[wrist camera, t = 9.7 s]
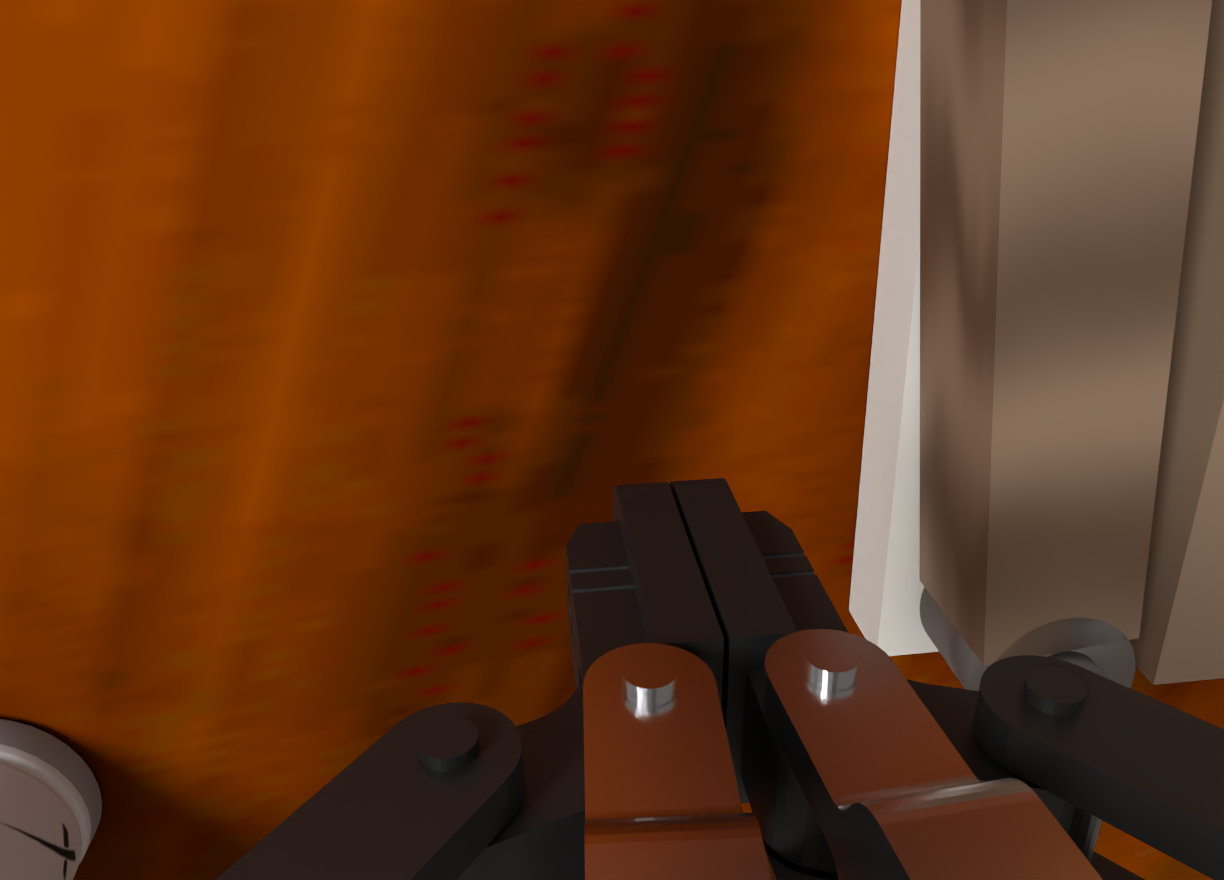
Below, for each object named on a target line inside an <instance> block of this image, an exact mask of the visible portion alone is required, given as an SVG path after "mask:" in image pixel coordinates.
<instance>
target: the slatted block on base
mask: <svg viewBox="0 0 1224 880" xmlns="http://www.w3.org/2000/svg"><path fill="white" fill-rule="evenodd" d="M923 589H924V585H923V584H922V583H921V581H920V0H902V6H901V18H900V29H899V41H898V52H897V64H896V75H895V87H894V98H893V110H892V121H891V132H890V144H889V155H888V167H887V178H886V190H885V201H884V213H883V224H882V236H881V247H880V259H879V270H878V282H877V293H876V304H875V316H874V327H873V339H872V350H871V362H870V373H869V385H868V396H867V408H866V419H865V431H864V442H863V453H862V465H861V476H860V488H859V499H858V511H857V522H856V534H855V545H854V557H853V568H852V580H851V591H850V603H849V611H850V613H851V615H852V616H853V618H854V620H855V622H856V623H857V625H858V627H859V628H860V630H861V632H862V633H863V635H864V637H865V638H866V640H868V641H870V642H872V643H874V644H875V645H877V646H878V647H880V648H881V649H882V650H883V651H884V652H886V653H887V655H888V656H895V655H906V654H917V653H928V652H939V651H938V649H937V648H936V646H935V645H934V643H933V642H932V641H931V639H930V638H929V636H928V635H927V633H926V632H925V630H924V628H923V625H922V623H921V618H920V600H921V595H922V592H923ZM1129 641H1130V643H1131V645H1132V647H1133V651H1134V654H1135V661H1136V666H1135V667H1136V668H1137V669H1138V670H1139V671H1140V672H1141V673H1142V674H1143V675H1144V676H1145V677H1146V678H1147V679H1148V680H1149V681H1150V682H1151V683H1152V684H1153V685H1157V684H1168V683H1178V682H1189V681H1199V680H1210V679H1221V678H1224V0H1212V7H1211V16H1210V24H1209V33H1208V42H1207V50H1206V59H1205V68H1204V77H1203V85H1202V94H1201V103H1200V111H1199V120H1198V129H1197V138H1196V146H1195V155H1194V164H1193V172H1192V181H1191V190H1190V198H1189V207H1188V216H1187V225H1186V233H1185V242H1184V251H1183V259H1182V268H1181V277H1180V286H1179V294H1178V303H1177V312H1176V320H1175V329H1174V338H1173V347H1172V355H1171V364H1170V373H1169V381H1168V390H1167V399H1166V408H1165V416H1164V425H1163V434H1162V442H1161V451H1160V460H1159V469H1158V477H1157V486H1156V495H1155V503H1154V512H1153V521H1152V529H1151V538H1150V547H1149V556H1148V564H1147V573H1146V582H1145V590H1144V599H1143V608H1142V617H1141V625H1140V634H1139V638H1137V639H1131V640H1129Z"/></svg>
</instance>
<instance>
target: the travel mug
mask: <svg viewBox="0 0 1224 880" xmlns="http://www.w3.org/2000/svg"><path fill="white" fill-rule="evenodd" d="M101 812H102V799H101V794H100V788H99V786H98V784H97V781H96V779H95V777H94V775H93V773H92V771H91V770H90V768H89V767H88V766H87V764H86V763H85V762H84V760H83V759H82V758H81V757H80V756H79V755H78V754H77V753H76V752H75V751H74V750H72V749H71V748H70V747H69V746H68V745H67V744H65V743H63V742H62V741H60V740H59V739H57V738H56V737H54V736H52V735H51V734H49V733H46V732H44V731H42V730H39V729H37V728H35V727H33V726H29V725H26V724H22V723H18V722H15V721H11V720H4V719H0V880H73V878H74V876H75V874H76V871H77V868H78V866H79V864H80V863H81V861H82V859H83V857H84V855H85V853H86V851H87V849H88V847H89V845H90V843H91V841H92V839H93V837H94V834H95V832H96V830H97V827H98V825H99V822H100V819H101Z"/></svg>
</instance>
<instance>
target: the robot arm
mask: <svg viewBox="0 0 1224 880" xmlns="http://www.w3.org/2000/svg"><path fill="white" fill-rule="evenodd" d="M566 554H567V578H568V602H569V626H570V643H571V651H572V659H573V666H574V676H575V684H576V691H575V692H574V694H573V695H572V697H571V698H570V699H568V700H567V701H566V702H565V703H564V704H563V705H562V706H560V707H559V708H558V709H556V710H555V711H553V712H551V713H549V714H548V715H546V716H544V717H541V718H539V719H536V720H534V721H531V722H528V723H525V724H522V725H519V726H515V725H514V724H513V722H512V721H511V720H510V719H509V718H508V717H506V716H505V715H504V714H502V713H501V712H499V711H497V710H495V709H493V708H490V707H487V706H484V705H479V704H474V703H447V704H441V705H436V706H433V707H429V708H426V709H423V710H421V711H418V712H416V713H414V714H412V715H410V716H408V717H407V718H405V719H403V720H402V721H401V722H399V723H398V724H397V725H395V726H394V727H393V728H392V729H391V730H389V731H388V732H387V733H386V734H385V735H384V736H382V737H381V738H380V739H379V740H378V741H377V742H375V743H374V744H373V745H372V746H371V747H370V748H368V749H367V750H366V751H365V752H364V753H363V754H361V755H360V756H359V757H358V758H357V759H356V760H354V761H353V762H352V763H351V764H350V765H349V766H347V767H346V768H345V769H344V770H343V771H342V772H340V773H339V774H338V775H337V776H336V777H335V778H333V779H332V780H331V781H330V782H329V783H328V784H326V785H325V786H324V787H323V788H322V789H321V790H319V791H318V792H317V793H316V794H315V795H314V796H312V797H311V798H310V799H309V800H308V801H307V802H305V803H304V804H303V805H302V806H301V807H300V808H298V809H297V810H296V811H295V812H294V813H293V814H291V815H290V816H289V817H288V818H287V819H286V820H284V821H283V822H282V823H281V824H280V825H279V826H277V827H276V828H275V829H274V830H273V831H272V832H270V833H269V834H268V835H267V836H266V837H265V838H263V839H262V840H261V841H260V842H259V843H258V844H256V845H255V846H254V847H253V848H252V849H251V850H249V851H248V852H247V853H246V854H245V855H244V856H242V857H241V858H240V859H239V860H238V861H237V862H236V863H234V864H233V865H232V866H231V867H230V868H229V869H227V870H226V871H225V872H224V873H223V874H222V875H220V876H219V877H218V878H217V879H216V880H1144V879H1142V878H1141V877H1139V876H1137V875H1135V874H1133V873H1132V872H1130V871H1128V870H1126V869H1124V868H1123V867H1121V866H1119V865H1117V864H1115V863H1114V862H1112V861H1110V860H1108V859H1106V858H1105V857H1103V856H1101V855H1099V854H1098V853H1096V852H1094V848H1095V844H1096V840H1097V837H1098V833H1099V829H1100V825H1101V822H1102V820H1103V821H1105V822H1107V823H1109V824H1110V825H1112V826H1114V827H1116V828H1118V829H1120V830H1122V831H1124V832H1125V833H1127V834H1129V835H1131V836H1133V837H1135V838H1137V839H1139V840H1140V841H1142V842H1144V843H1146V844H1148V845H1150V846H1152V847H1154V848H1155V849H1157V850H1159V851H1161V852H1163V853H1165V854H1167V855H1169V856H1170V857H1172V858H1174V859H1176V860H1178V861H1180V862H1182V863H1184V864H1185V865H1187V866H1189V867H1191V868H1193V869H1195V870H1197V871H1199V872H1200V873H1202V874H1204V875H1206V876H1208V877H1210V878H1212V879H1214V880H1224V730H1223V729H1221V728H1219V727H1217V726H1214V725H1212V724H1210V723H1207V722H1205V721H1203V720H1201V719H1198V718H1196V717H1194V716H1192V715H1189V714H1187V713H1185V712H1182V711H1180V710H1178V709H1176V708H1173V707H1171V706H1169V705H1167V704H1164V703H1162V702H1160V701H1157V700H1155V699H1153V698H1151V697H1148V696H1146V695H1144V694H1142V693H1139V692H1137V691H1135V690H1132V689H1130V688H1128V687H1126V686H1123V685H1121V684H1119V683H1117V682H1114V681H1112V680H1110V679H1107V678H1105V677H1103V676H1101V675H1098V674H1096V673H1094V672H1092V671H1089V670H1087V669H1085V668H1082V667H1080V666H1077V665H1075V664H1072V663H1070V662H1066V661H1063V660H1060V659H1056V658H1051V657H1045V656H1036V655H1020V656H1012V657H1008V658H1004V659H1001V660H999V661H997V662H994V663H993V664H992V665H990V666H989V667H988V668H987V669H986V670H985V671H984V673H983V675H982V677H981V681H980V686H979V691H974V690H966V689H959V688H951V687H944V686H937V685H930V684H924V683H919V682H915V681H912V680H908V679H905V677H904V676H903V674H902V673H901V672H900V670H899V669H898V667H897V666H896V665H895V663H894V662H893V661H892V659H891V658H890V657H889V656H888V655H887V653H886V652H884V651H883V650H882V649H881V648H880V647H878V646H877V645H875V644H874V643H872V642H870V641H868V640H866V639H864V638H862V637H860V636H857V635H854V634H851V633H848V631H847V629H846V628H845V626H844V624H843V622H842V620H841V619H840V617H839V615H838V613H837V611H836V609H835V608H834V606H833V604H832V602H831V600H830V599H829V597H828V595H827V593H826V591H825V589H824V588H823V586H822V584H821V582H820V580H819V579H818V577H817V575H814V569H813V568H812V566H811V564H810V562H809V560H808V559H807V557H806V556H804V551H803V549H802V548H801V546H800V544H799V542H798V540H797V539H796V537H795V535H794V533H793V531H792V529H790V528H789V527H787V526H786V525H785V524H783V523H782V522H780V521H779V520H778V519H776V518H775V517H773V516H772V515H771V514H769V513H768V512H766V511H757V512H743V513H741V511H740V509H739V507H738V505H737V503H736V500H735V498H734V496H733V494H732V492H731V490H730V488H729V486H728V483H727V482H726V480H725V479H724V478H719V479H704V480H689V481H674V482H670V485H669V484H668V482H662V483H647V484H632V485H617V486H614V489H613V522H604V523H590V524H579V525H578V527H577V529H576V530H575V532H574V534H573V535H572V537H571V539H570V540H569V542H568V544H567V545H566ZM748 802H749V803H750V806H751V809H752V812H753V813H743V811H742V807H741V803H748Z"/></svg>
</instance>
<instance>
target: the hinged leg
mask: <svg viewBox="0 0 1224 880" xmlns="http://www.w3.org/2000/svg"><path fill="white" fill-rule="evenodd" d="M1211 7H1212V0H920V581H921V583H922V584H923V585H924V589H923V592H922V595H921V600H920V618H921V623H922V625H923V628H924V630H925V632H926V633H927V635H928V636H929V638H930V639H931V641H932V642H933V643H934V645H935V646H936V648H937V649H938V651H939V652H940V654H941V655H942V656H943V658H944V659H945V661H946V662H947V664H948V665H949V667H950V668H951V669H952V671H953V672H954V674H955V675H956V677H957V678H958V679H959V681H960V682H961V684H962V685H963V687H964V688H965V689H966V690H974V691H979V686H980V681H981V677H982V675H983V673H984V671H985V670H986V669H987V668H988V667H989V666H990V665H992V664H993V663H994V662H997V661H999V660H1001V659H1004V658H1008V657H1012V656H1020V655H1036V656H1045V657H1051V658H1056V659H1060V660H1063V661H1066V662H1070V663H1072V664H1075V665H1077V666H1080V667H1082V668H1085V669H1087V670H1089V671H1092V672H1094V673H1096V674H1098V675H1101V676H1103V677H1105V678H1107V679H1110V680H1112V681H1114V682H1117V683H1119V684H1121V685H1123V686H1126V687H1128V688H1131V685H1132V682H1133V679H1134V675H1135V666H1136V661H1135V654H1134V651H1133V647H1132V645H1131V643H1130V641H1129V640H1131V639H1137V638H1139V634H1140V625H1141V617H1142V608H1143V599H1144V590H1145V582H1146V573H1147V564H1148V556H1149V547H1150V538H1151V529H1152V521H1153V512H1154V503H1155V495H1156V486H1157V477H1158V469H1159V460H1160V451H1161V442H1162V434H1163V425H1164V416H1165V408H1166V399H1167V390H1168V381H1169V373H1170V364H1171V355H1172V347H1173V338H1174V329H1175V320H1176V312H1177V303H1178V294H1179V286H1180V277H1181V268H1182V259H1183V251H1184V242H1185V233H1186V225H1187V216H1188V207H1189V198H1190V190H1191V181H1192V172H1193V164H1194V155H1195V146H1196V138H1197V129H1198V120H1199V111H1200V103H1201V94H1202V85H1203V77H1204V68H1205V59H1206V50H1207V42H1208V33H1209V24H1210V16H1211Z"/></svg>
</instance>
